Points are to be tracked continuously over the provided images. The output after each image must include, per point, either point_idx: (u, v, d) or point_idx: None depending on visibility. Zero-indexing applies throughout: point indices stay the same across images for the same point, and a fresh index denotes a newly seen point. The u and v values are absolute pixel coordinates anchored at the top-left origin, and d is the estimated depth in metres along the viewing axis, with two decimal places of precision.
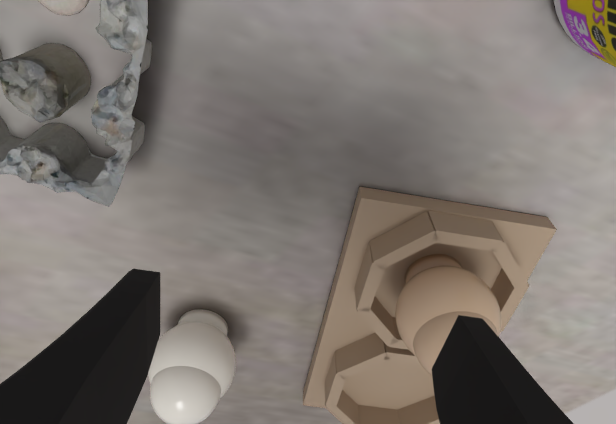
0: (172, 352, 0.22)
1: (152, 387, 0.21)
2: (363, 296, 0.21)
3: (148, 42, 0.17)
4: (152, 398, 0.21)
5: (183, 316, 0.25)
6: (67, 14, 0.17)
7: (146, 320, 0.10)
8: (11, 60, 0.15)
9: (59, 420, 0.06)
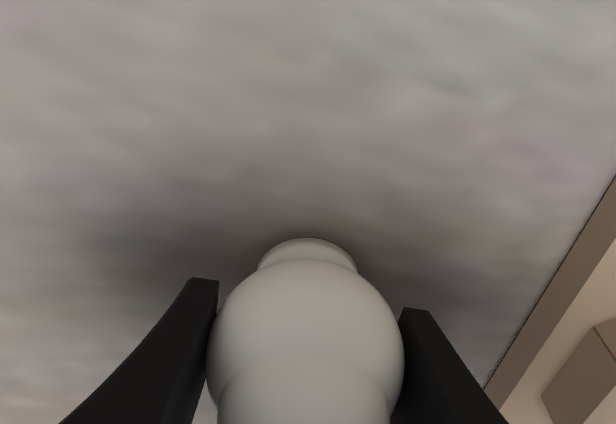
0: (275, 321, 0.08)
1: (227, 411, 0.08)
2: None
3: None
4: None
5: (271, 253, 0.12)
6: None
7: (209, 328, 0.10)
8: None
9: None
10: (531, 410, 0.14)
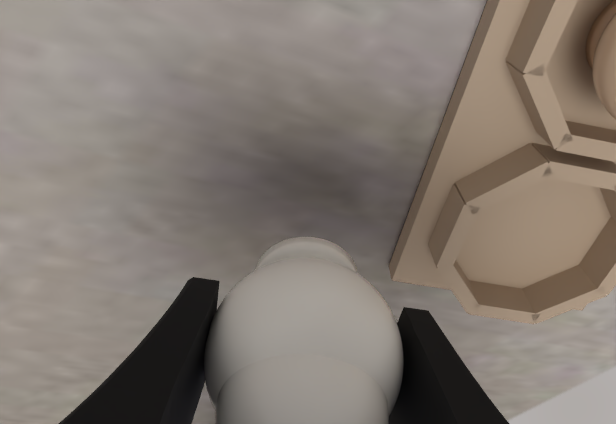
0: (275, 320, 0.08)
1: (226, 410, 0.08)
2: (540, 42, 0.13)
3: None
4: None
5: (270, 252, 0.12)
6: None
7: (209, 328, 0.10)
8: None
9: None
10: (423, 257, 0.19)
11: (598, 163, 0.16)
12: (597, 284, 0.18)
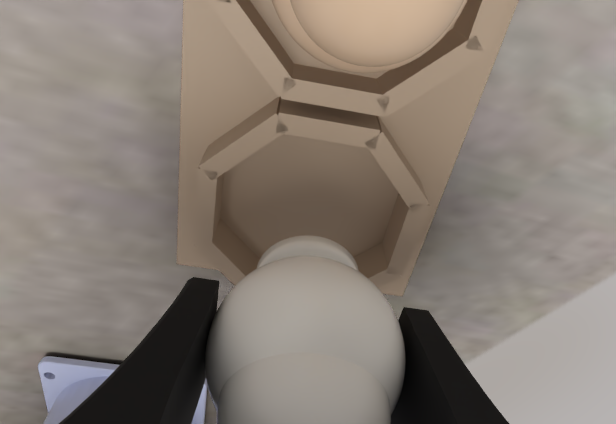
0: (276, 318, 0.08)
1: (227, 409, 0.08)
2: None
3: None
4: None
5: (271, 250, 0.12)
6: None
7: (209, 328, 0.10)
8: None
9: None
10: None
11: (351, 116, 0.13)
12: (388, 263, 0.16)
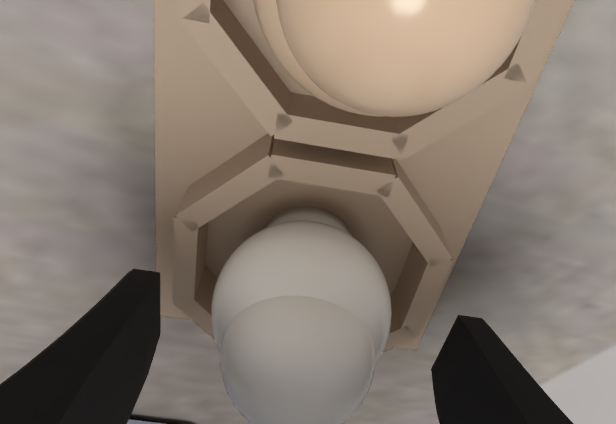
0: (274, 267, 0.10)
1: (229, 344, 0.09)
2: None
3: None
4: (230, 369, 0.09)
5: (273, 220, 0.13)
6: None
7: (146, 320, 0.10)
8: None
9: (59, 420, 0.06)
10: None
11: (359, 156, 0.11)
12: (401, 322, 0.13)
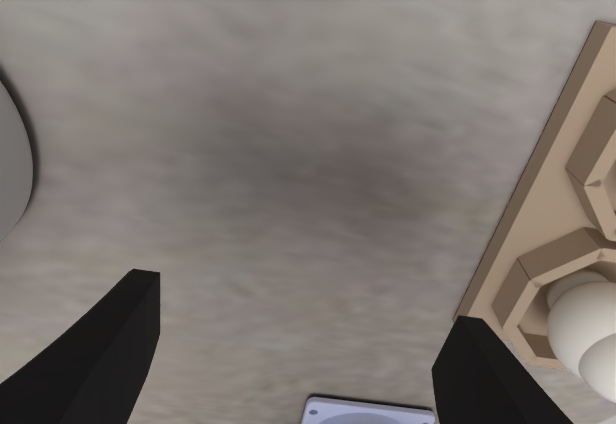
0: None
1: (604, 356, 0.17)
2: (598, 163, 0.16)
3: None
4: (608, 369, 0.17)
5: (564, 277, 0.21)
6: None
7: (146, 320, 0.10)
8: None
9: (59, 420, 0.06)
10: (486, 315, 0.22)
11: None
12: None
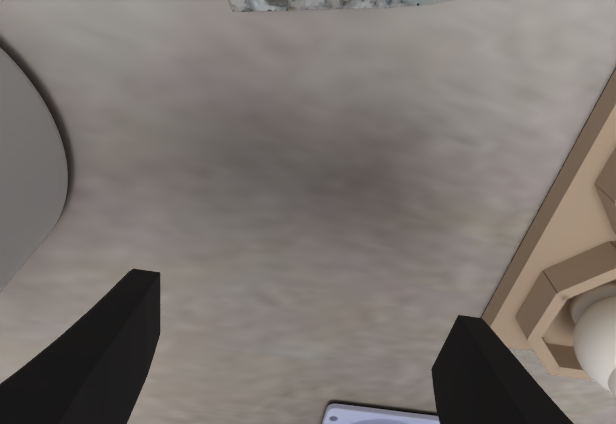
0: None
1: None
2: None
3: None
4: None
5: (589, 290, 0.21)
6: None
7: (146, 320, 0.10)
8: None
9: (59, 420, 0.06)
10: (510, 325, 0.23)
11: None
12: None
